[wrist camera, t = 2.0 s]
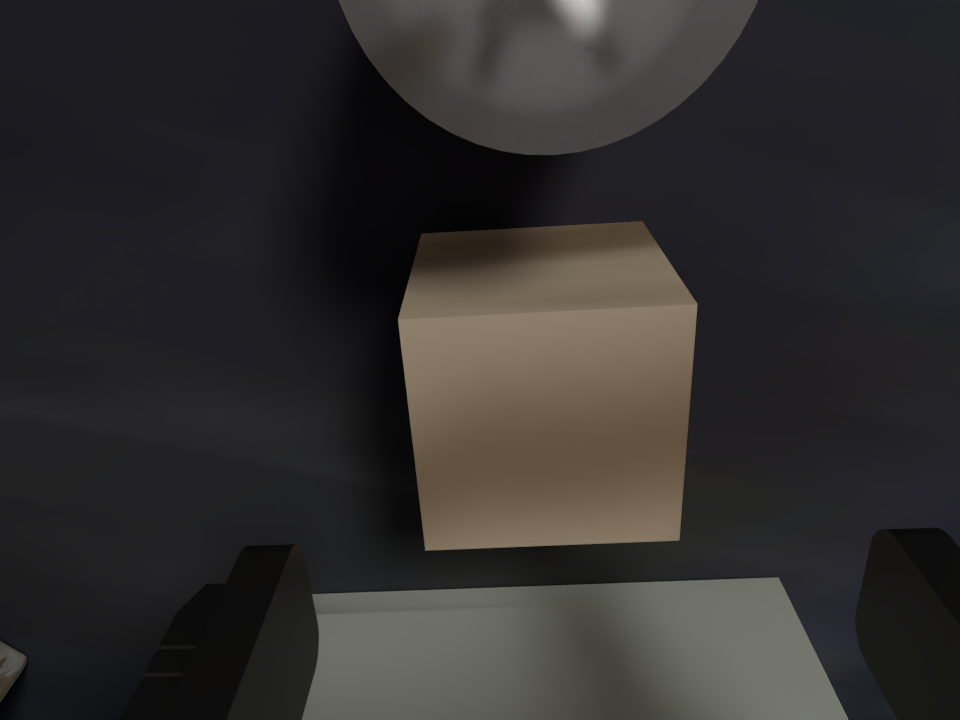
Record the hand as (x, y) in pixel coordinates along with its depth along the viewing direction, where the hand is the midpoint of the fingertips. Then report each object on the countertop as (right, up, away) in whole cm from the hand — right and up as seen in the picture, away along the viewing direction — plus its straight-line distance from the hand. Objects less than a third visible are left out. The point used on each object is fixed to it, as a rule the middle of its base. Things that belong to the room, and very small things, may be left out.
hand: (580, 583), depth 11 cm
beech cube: (0, +4, +7) cm, 8 cm away
